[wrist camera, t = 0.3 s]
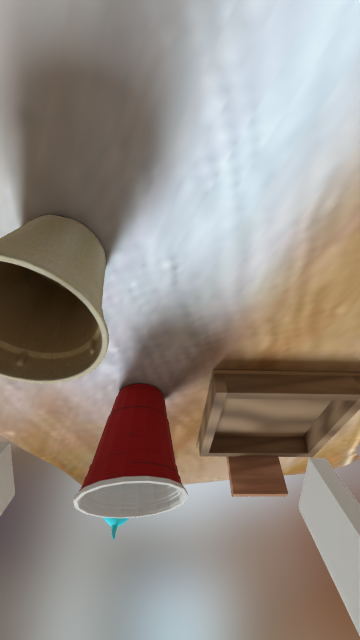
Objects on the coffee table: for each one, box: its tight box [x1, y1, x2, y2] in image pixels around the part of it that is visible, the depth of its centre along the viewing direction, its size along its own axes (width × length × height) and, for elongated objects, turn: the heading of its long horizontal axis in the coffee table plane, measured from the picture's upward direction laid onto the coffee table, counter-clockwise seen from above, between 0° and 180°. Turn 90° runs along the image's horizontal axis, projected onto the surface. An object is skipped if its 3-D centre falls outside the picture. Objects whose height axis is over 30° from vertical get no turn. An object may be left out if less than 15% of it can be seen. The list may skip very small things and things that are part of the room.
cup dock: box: [197, 370, 360, 497], centre depth 36 cm, size 21×17×8 cm
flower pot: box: [0, 215, 109, 384], centre depth 17 cm, size 9×9×9 cm
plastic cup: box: [73, 384, 188, 518], centre depth 30 cm, size 11×11×12 cm
